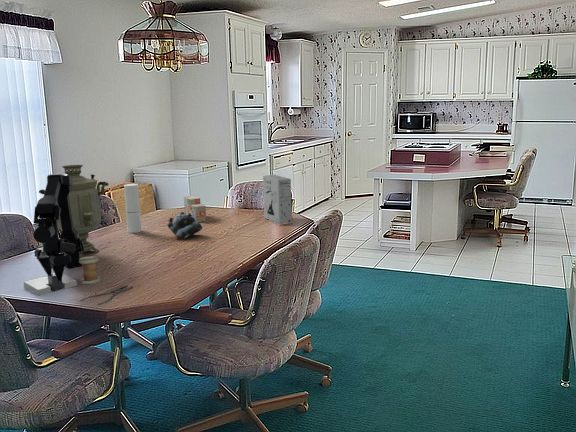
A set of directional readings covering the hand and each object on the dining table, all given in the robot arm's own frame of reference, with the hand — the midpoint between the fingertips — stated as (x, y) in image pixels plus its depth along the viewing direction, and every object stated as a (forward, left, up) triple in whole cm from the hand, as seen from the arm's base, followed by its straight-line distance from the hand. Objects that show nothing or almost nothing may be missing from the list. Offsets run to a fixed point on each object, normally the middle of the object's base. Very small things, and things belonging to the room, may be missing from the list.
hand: (54, 278), depth 207 cm
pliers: (+20, +10, -5) cm, 23 cm away
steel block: (0, 0, -4) cm, 4 cm away
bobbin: (+1, +13, -4) cm, 14 cm away
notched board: (-5, 0, -4) cm, 7 cm away
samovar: (-42, +29, -4) cm, 51 cm away
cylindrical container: (-66, +69, -4) cm, 96 cm away
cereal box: (-26, +136, -4) cm, 139 cm away
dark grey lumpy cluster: (-34, +80, -4) cm, 86 cm away
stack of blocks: (-69, +110, -5) cm, 130 cm away
